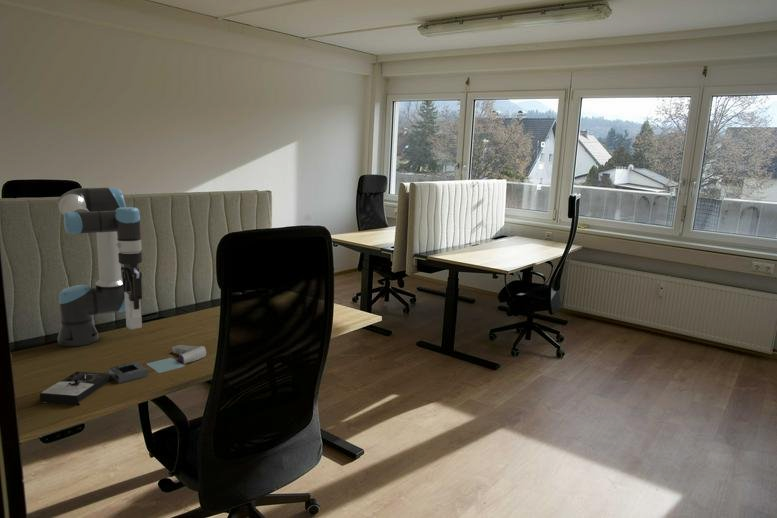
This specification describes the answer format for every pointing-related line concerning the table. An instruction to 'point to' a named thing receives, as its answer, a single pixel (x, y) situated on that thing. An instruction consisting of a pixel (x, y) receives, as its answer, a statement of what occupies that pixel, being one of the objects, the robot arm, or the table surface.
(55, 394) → the multimeter
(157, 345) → the table surface
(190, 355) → the infrared thermometer
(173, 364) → the slate mat
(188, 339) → the table surface
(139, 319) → the long steel block
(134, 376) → the socket block
